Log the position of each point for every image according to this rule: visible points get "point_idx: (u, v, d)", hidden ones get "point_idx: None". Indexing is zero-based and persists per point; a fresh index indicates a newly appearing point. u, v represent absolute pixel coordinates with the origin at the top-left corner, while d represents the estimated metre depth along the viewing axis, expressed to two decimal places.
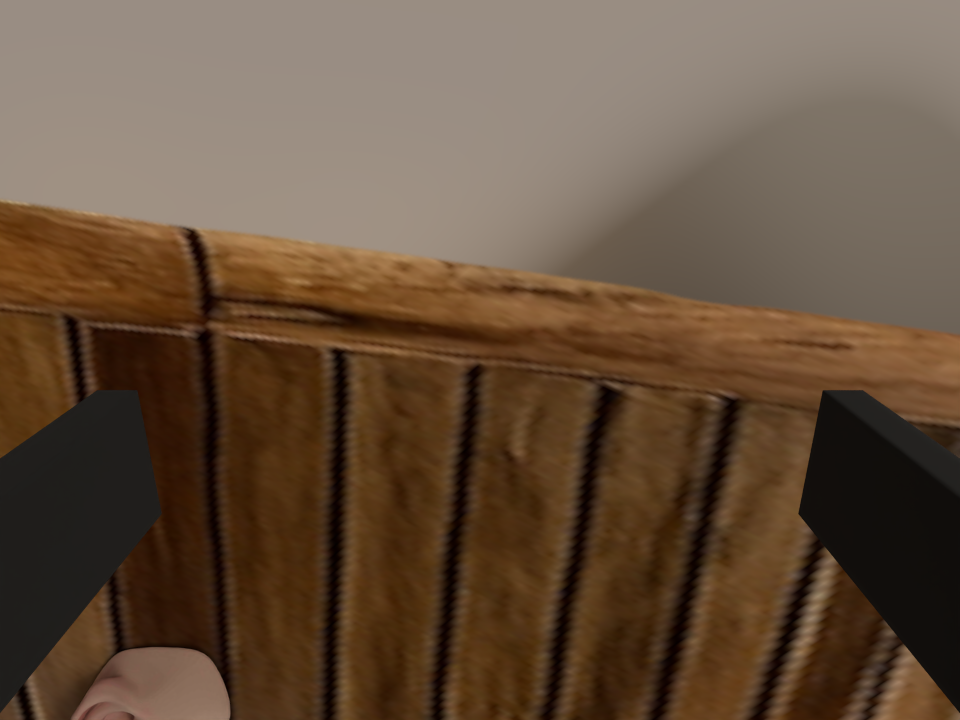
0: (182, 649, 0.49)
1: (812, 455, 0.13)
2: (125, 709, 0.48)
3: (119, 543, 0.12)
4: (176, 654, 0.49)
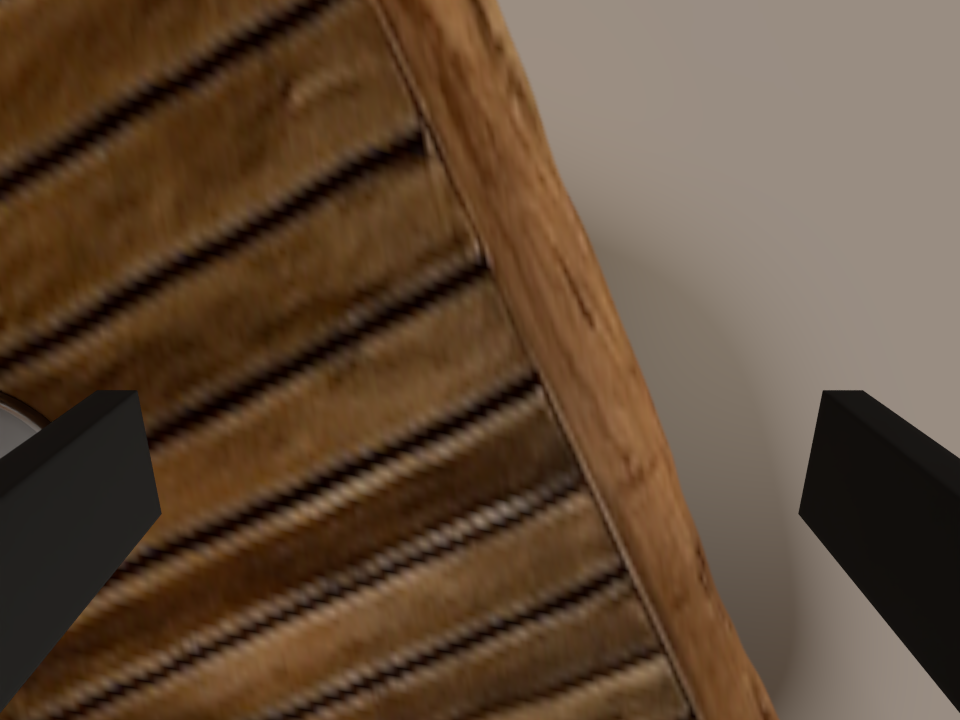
0: None
1: (812, 455, 0.13)
2: None
3: (119, 544, 0.12)
4: None
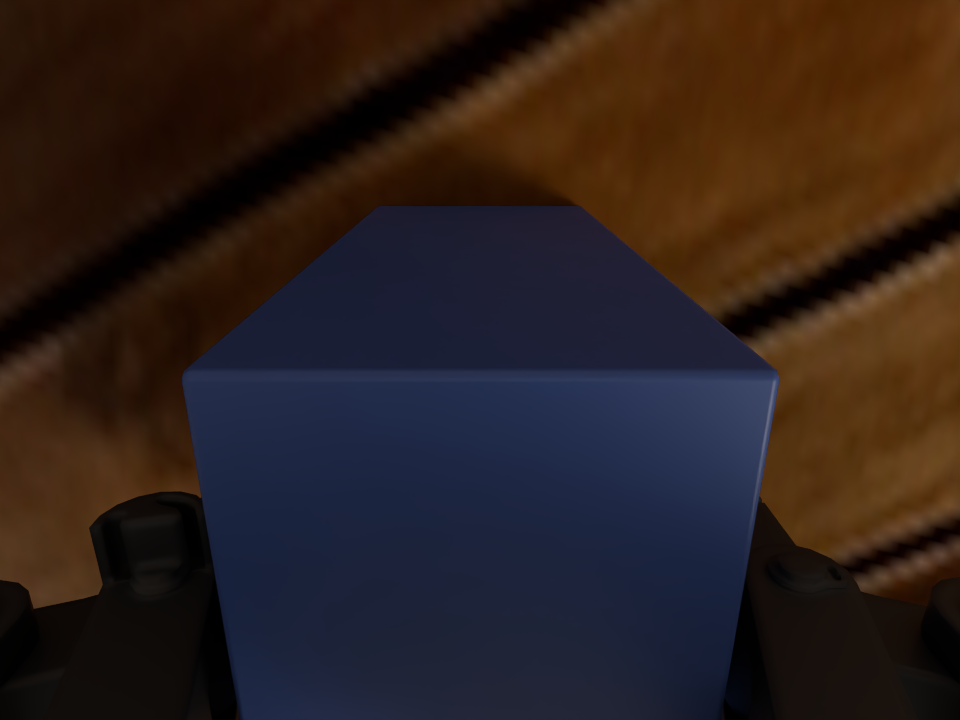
0: None
1: None
2: None
3: None
4: None
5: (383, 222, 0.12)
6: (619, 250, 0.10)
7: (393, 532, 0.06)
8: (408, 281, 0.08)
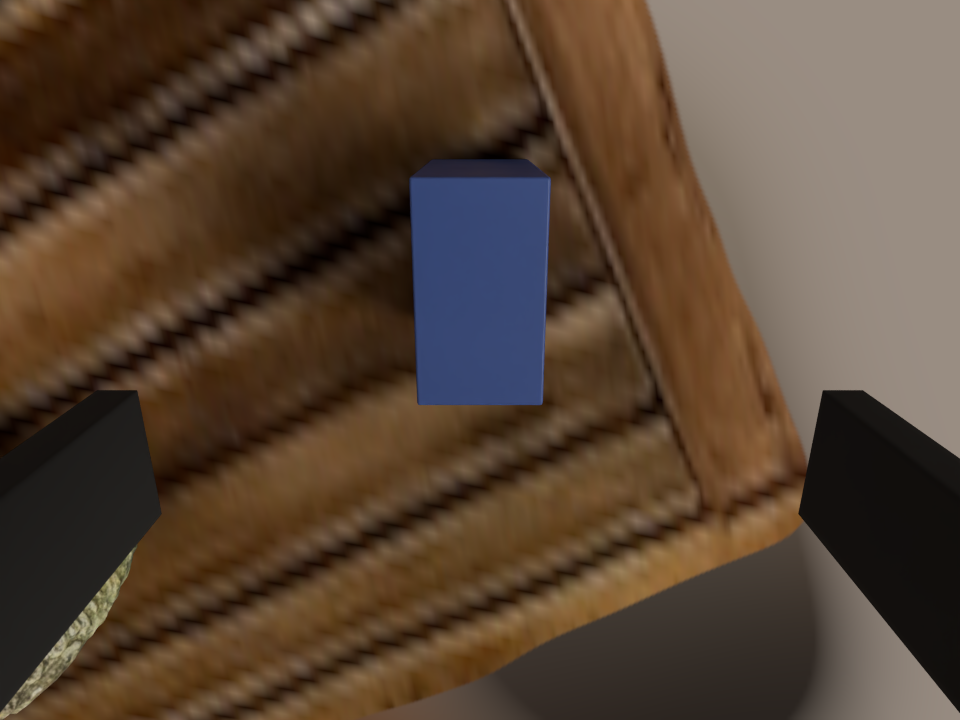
0: None
1: (812, 455, 0.13)
2: None
3: (119, 543, 0.12)
4: None
5: (438, 162, 0.29)
6: (531, 166, 0.26)
7: (457, 221, 0.22)
8: (456, 170, 0.24)
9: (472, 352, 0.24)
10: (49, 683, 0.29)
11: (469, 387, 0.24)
